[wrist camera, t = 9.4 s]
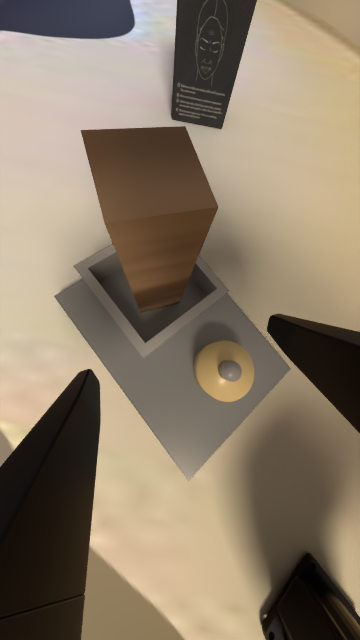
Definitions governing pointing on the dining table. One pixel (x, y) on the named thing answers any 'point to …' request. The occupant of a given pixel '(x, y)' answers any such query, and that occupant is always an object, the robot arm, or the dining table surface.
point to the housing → (176, 355)
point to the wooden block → (152, 206)
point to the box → (208, 57)
